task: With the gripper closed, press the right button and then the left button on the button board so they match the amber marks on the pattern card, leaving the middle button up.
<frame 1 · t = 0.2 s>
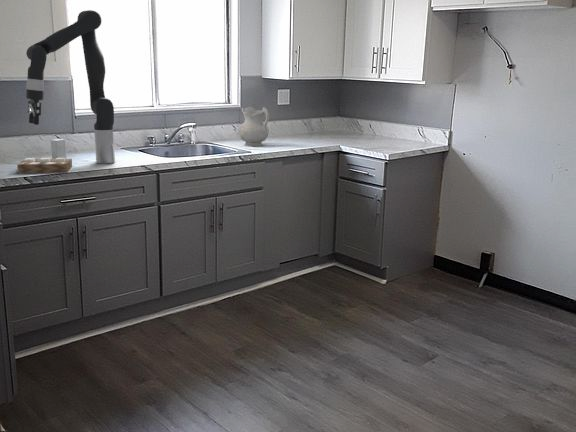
hand: (33, 123, 290), 22 cm above the worktop, tool pointing down, fingers open, 8 cm apart
skincare box: (59, 163, 315), on the worktop
button 1: (29, 160, 293), point 5 cm above the worktop, slide at 0.0 cm
button 2: (60, 160, 295), point 5 cm above the worktop, slide at 0.0 cm
ceramic pitcher: (255, 145, 390), on the worktop
button board: (46, 169, 295), on the worktop
button middle: (45, 160, 294), point 5 cm above the worktop, slide at 0.0 cm
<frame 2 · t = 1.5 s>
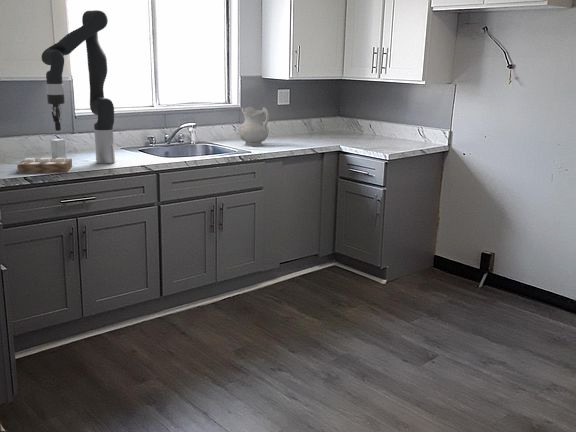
hand: (58, 130, 292), 19 cm above the worktop, tool pointing down, fingers closed
nothing on the worktop moved.
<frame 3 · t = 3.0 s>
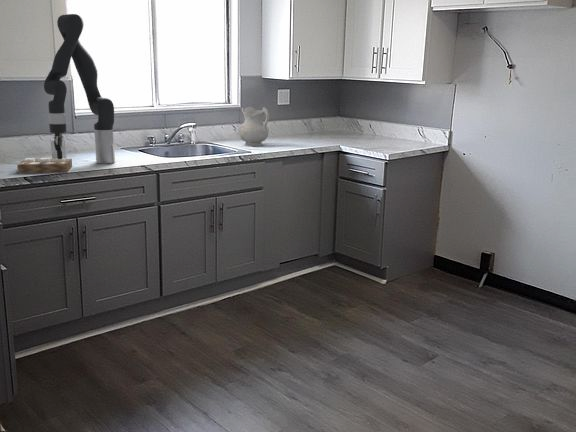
hand: (60, 158, 295), 5 cm above the worktop, tool pointing down, fingers closed
button 2: (60, 160, 295), point 4 cm above the worktop, slide at -0.1 cm, touching gripper
everything else where it was.
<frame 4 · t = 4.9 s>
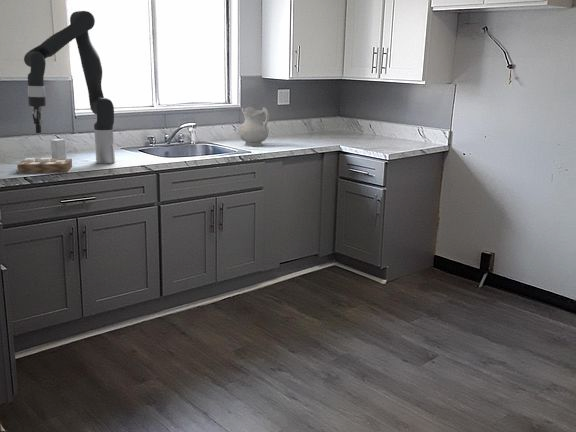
hand: (38, 132, 289), 18 cm above the worktop, tool pointing down, fingers closed
button 2: (60, 162, 296), point 3 cm above the worktop, slide at -1.3 cm
everything else where it was.
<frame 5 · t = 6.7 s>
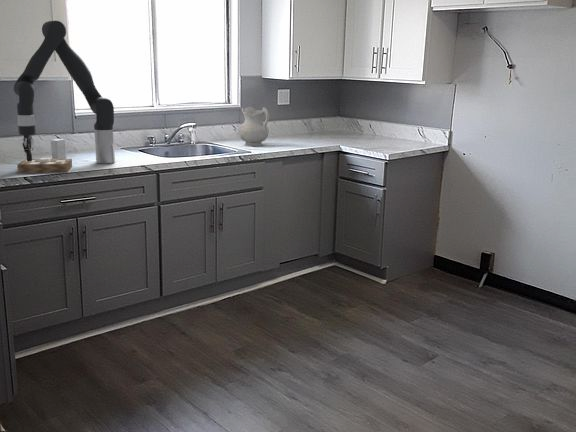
hand: (29, 160, 293), 4 cm above the worktop, tool pointing down, fingers closed
button 1: (30, 162, 293), point 3 cm above the worktop, slide at -1.0 cm, touching gripper
everything else where it was.
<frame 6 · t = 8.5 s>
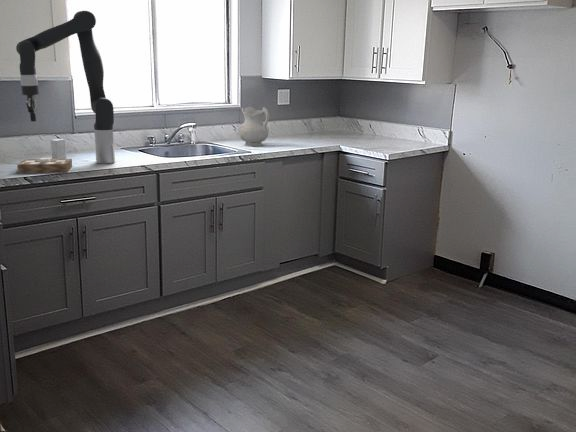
hand: (33, 121, 294), 23 cm above the worktop, tool pointing down, fingers closed
button 1: (30, 163, 293), point 3 cm above the worktop, slide at -1.2 cm
everything else where it was.
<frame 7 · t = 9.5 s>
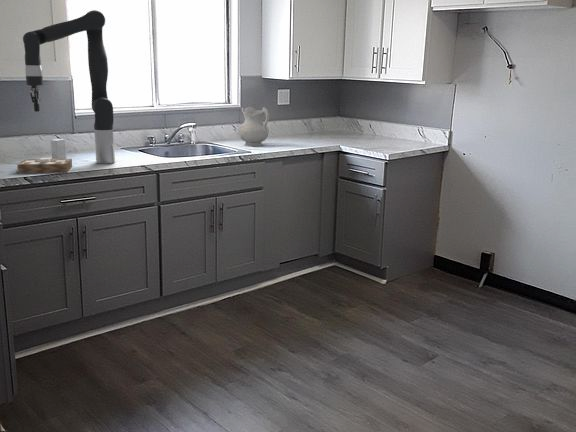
hand: (37, 111, 298), 27 cm above the worktop, tool pointing down, fingers closed
nothing on the worktop moved.
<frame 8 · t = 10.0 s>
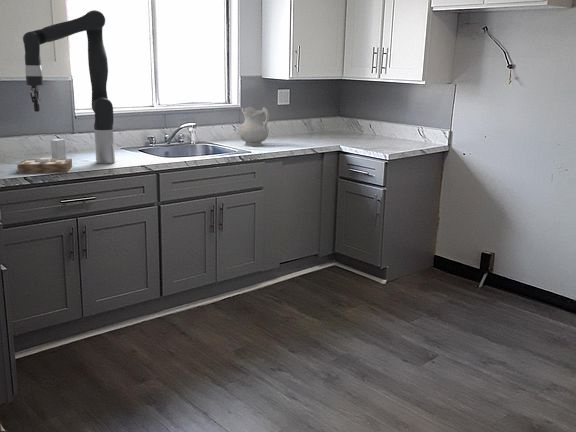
hand: (37, 111, 298), 27 cm above the worktop, tool pointing down, fingers closed
nothing on the worktop moved.
at the end: button 2 slide at -1.3 cm; button 1 slide at -1.2 cm; button middle slide at 0.0 cm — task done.
